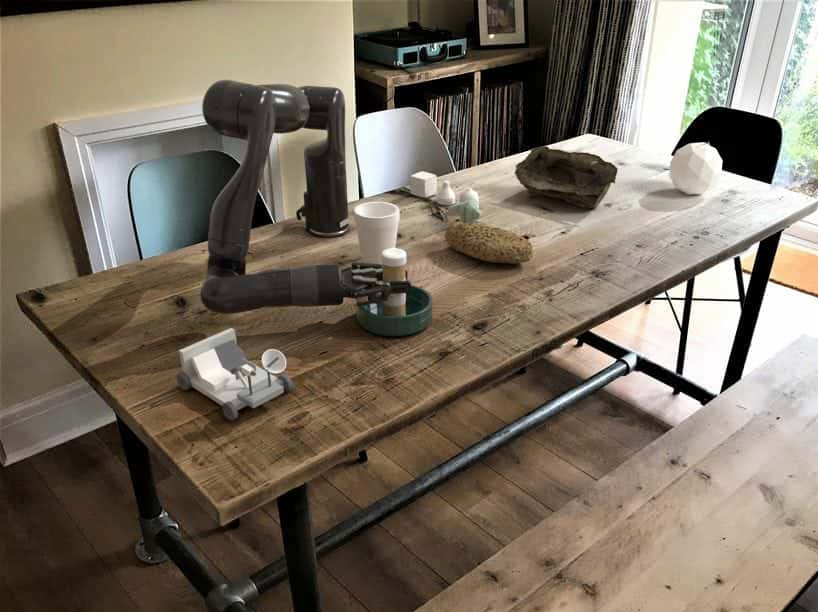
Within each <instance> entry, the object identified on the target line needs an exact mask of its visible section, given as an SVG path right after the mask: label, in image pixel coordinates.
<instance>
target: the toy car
mask: <svg viewBox="0 0 818 612" xmlns="http://www.w3.org/2000/svg"><path fill="white" fill-rule="evenodd" d="M236 336H237V335H236V330H235V329H234V328H232V327H230V328H228V329H225V330H223V331H221V332H219V333H216V334H214V335H211V336H209V337H207V338H205V339H201V340H200V341H198V342H195V343H193V344H191V345H188V346H185V347H183V348H181V349H179V350H178V353H179V359H180V364H181V369H182V371H180V372H179V373H177V374H176V382H177V383H178V385H179V387H180V388H181V389H182V390H183V391H188V390H190V389H191V388H194V389H195V390H197V391H198V392H200V393H202V394H203V395H204V396H206V397H208V398H209V399H211V400H212V401H214V402H216V403H217V404H218V405H220V406H221V409H222V412H223V414H224V416H225V418H226V419H227V420H229V421H230V422H231V421H235V420H237V418H238V417H239V412H238V411H239V410H241V409H243V408H245V407H247V406H248V407H250V408H252V409H255V408H257V407H259V406H260V405H263V404H265V403H267V402H269V401H270V400H272V399H274V398H276V397H278V396H280V395H282V394H283V393H285V392H286V393H288V392H289V391H291V390H292V389H293V386H294V384H293V381H292V379H291V377H290V376H289V374H286V373H283V371H285V369H286V367H287V359H286V358H287V357H286V356H285V355H284V354H283V352H281V351H280V350H278V349H275V348H270V349H267V350H265V351H264V352H263V354H262V356H261V365H262V367H260V366H258V365H257V364H254V363H252V362H250V360H247V359H246V354H245V352H244V350H243V349H242V348H240V347H239V346H238V344H237V337H236ZM271 373H272V374H271ZM280 373H281V374H280ZM274 374H279V375H278V376H275V375H274Z"/></svg>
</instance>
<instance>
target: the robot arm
mask: <svg viewBox="0 0 818 612" xmlns="http://www.w3.org/2000/svg"><path fill="white" fill-rule="evenodd" d="M201 104H202V105H201V112H202V116H203V119H204V122H205V124H206V125H207V126H208V128H210V130H212V131H213V132H214V133H217V134H218V135H221V136H224V137H228V138H234V139H239V140H242V141H243V140H244V141H246V147H245V148H246V149H245V153H244V157H243V159H242V162H241V164H240V166H239V167H238V169H237V170H236V171H235V172H234V175H233V176H232V177H231V179H230V180H229V181H228V182H227V184H226V185H224V187H223V188H222V189H221V191H220V193H218V195H217V197H216V198H215V200H214V202H213V204H212V208H211V212H210V217H209V226H208V235H207V251H208V260H207V266H206V273H205V274H206V275H205V279H204V282H203V283H202V286H201V288H200V293H199V294H200V295H199V296H200V300H201V302H202V305H203V306H204V307H205V308H206V309H207V310H209V311H210V312H212V313H215V314H219V315H232V314H233V315H234V314H240V313H245V312H251V311H255V310H259V309H266V308H273V309H274V308H290V307H297V308H298V307H299V308H312V307H313V308H314V307H329V306H342V305H343V303H344V299H345V298H347V299H355V301H356V307H357V306H364V305H369V304H374V303H379V302H383V301H387V300H388V296H390V294H399V293H410V292H411V285H412V283H411V281H410V280H408V270H407V269H406V268H405V276H406V281H391V282H385V281H383V267H382V265H381V264H370V263H363V262H352V263H351V268H350V269H347V270H343V271H342V266H341V264H339V263H333V264H332V263H331V264H314V265H313V264H312V265H299V266H293V267H284V268H283V267H282V268H268V269H267V268H266V269H263V270H260V271H258V272H256V273H246V271H247V256H248V251H249V248H250V241H251V233H252V226H253V225H252V224H253V216H254V211H255V205H256V201H257V196H258V193H259V189H260V185H261V182H262V178H263V175H264V171H265V166H266V164H267V159H268V155H269V152H270V147H271V143H272V141H273V135H274V134H279V135H282V134H292V133H295V132H297V131H299V130H301V129H305V130H306V129H307V130H313V131H326V137H325V138H323V139H321V140H317V141H314V142H311V143H309V144H307V145H306V146H305V147H304V149H303V157H304V158H303V159H304V160H303V161H304V171H305V173H304V174H305V183H306V184H305V185H306V191H304V192H303V205H302V206H300V207H299V208H298V209H297V210H296V212H295V217H296V218H297V221H301V220H302V217H303V218H304V217H305V218H304V219H305V230H306V232H308V233H310V234H312V235H314V236H317V237H320V238H321V237H322V238H334V237H339V236H343V235H345V234H347V233H349V231H350V217H349V202H348V201H349V200H348V183H347V181H348V180H347V179H348V178H347V162H346V161H347V160H346V159H347V158H346V101H345V95H344V92H343V91H342V90H341V89H340V88H339V87H335V86H319V85H302V86H298V87H297V86H294V85H291V84H285V83H266V84H265V83H264V84H252V83H247V82H243V81H237V80H233V79H220V80H217V81H216V82H213V83H212V84H211V85H210V86H209V87H208V89H207V90H206V91H205V93H204V96H203V99H202V103H201ZM378 286H382V287H378ZM372 287H373V288H372ZM377 296H381V297H377Z"/></svg>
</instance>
